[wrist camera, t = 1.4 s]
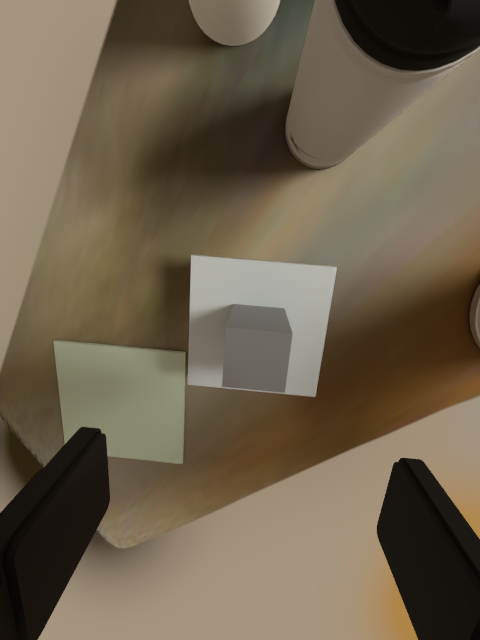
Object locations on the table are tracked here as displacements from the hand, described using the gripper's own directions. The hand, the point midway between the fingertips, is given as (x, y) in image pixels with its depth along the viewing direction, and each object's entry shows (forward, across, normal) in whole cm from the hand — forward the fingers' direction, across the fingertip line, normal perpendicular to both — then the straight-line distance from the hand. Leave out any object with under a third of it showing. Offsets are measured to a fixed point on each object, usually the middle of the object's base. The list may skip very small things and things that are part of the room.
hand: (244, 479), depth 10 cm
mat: (+21, +14, +12) cm, 28 cm away
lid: (+16, 0, 0) cm, 16 cm away
